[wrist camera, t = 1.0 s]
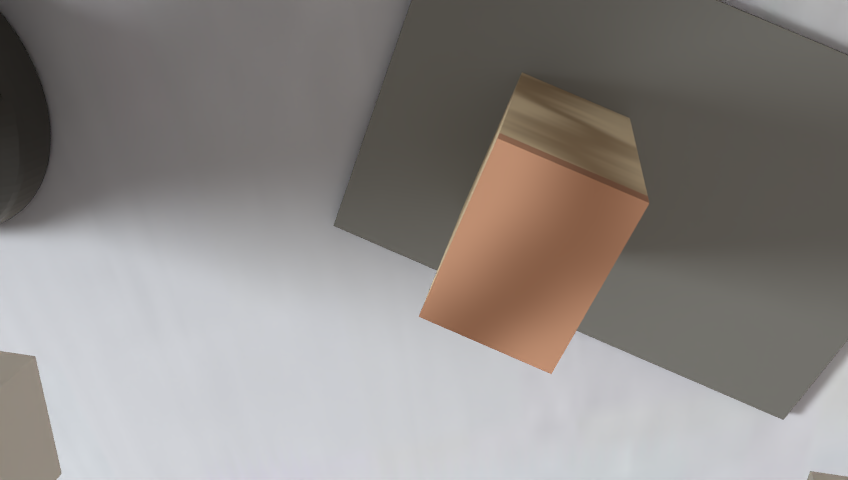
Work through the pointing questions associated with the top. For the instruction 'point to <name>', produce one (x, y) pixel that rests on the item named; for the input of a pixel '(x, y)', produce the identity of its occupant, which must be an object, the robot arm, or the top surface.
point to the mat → (644, 171)
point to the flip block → (540, 225)
